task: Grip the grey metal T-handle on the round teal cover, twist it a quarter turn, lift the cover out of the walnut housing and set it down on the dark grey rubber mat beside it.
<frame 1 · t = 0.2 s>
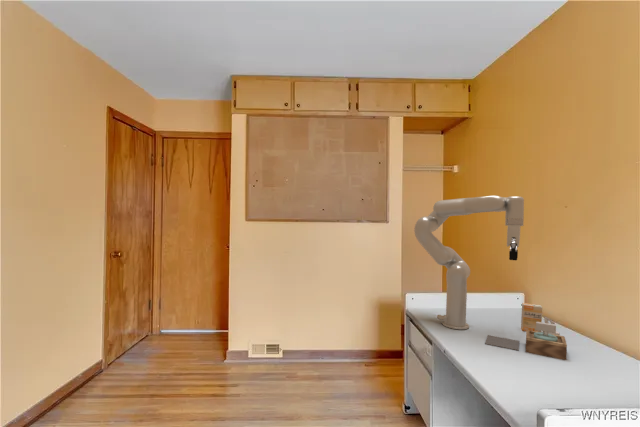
hand: (513, 259, 167), 36 cm above the table, tool pointing down, fingers open, 9 cm apart
supplement box: (531, 331, 177), on the table
cover: (545, 339, 150), point 5 cm above the table, touching housing
housing: (544, 351, 150), on the table
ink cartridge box: (551, 341, 164), on the table
mat: (502, 342, 158), on the table
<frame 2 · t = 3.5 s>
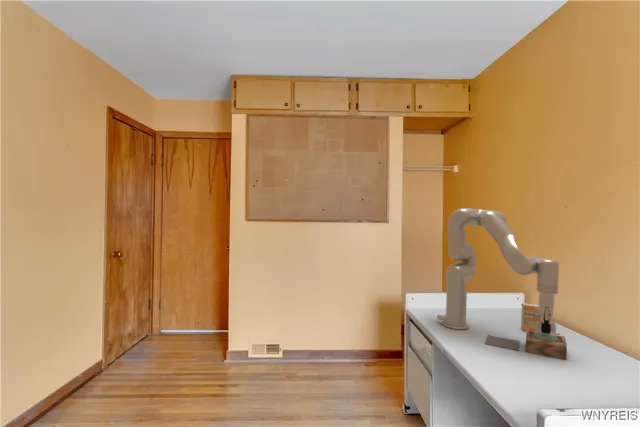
hand: (545, 331, 150), 8 cm above the table, tool pointing down, fingers closed on cover
cover: (545, 339, 150), point 5 cm above the table, touching gripper, housing
everything else where it was.
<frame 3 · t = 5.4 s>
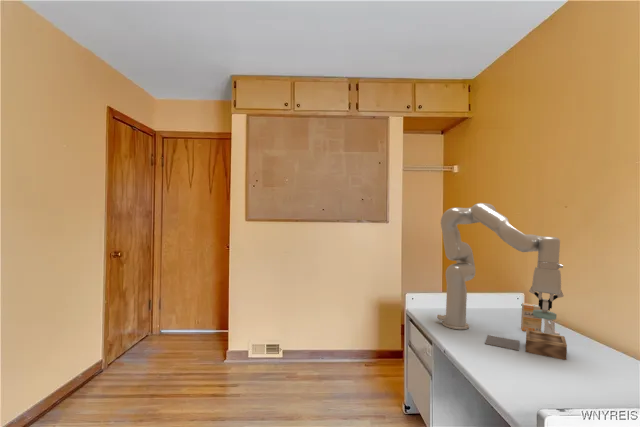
hand: (544, 308, 150), 18 cm above the table, tool pointing down, fingers closed on cover
cover: (544, 316, 150), point 14 cm above the table, touching gripper
everything else where it was.
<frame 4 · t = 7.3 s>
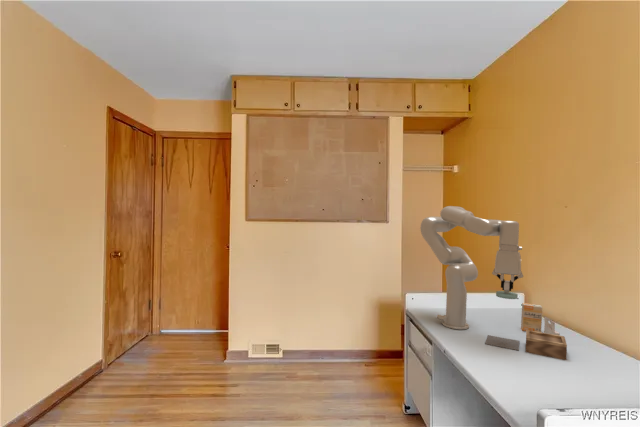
hand: (506, 289, 157), 24 cm above the table, tool pointing down, fingers closed on cover
cover: (506, 296, 157), point 21 cm above the table, touching gripper
everything else where it was.
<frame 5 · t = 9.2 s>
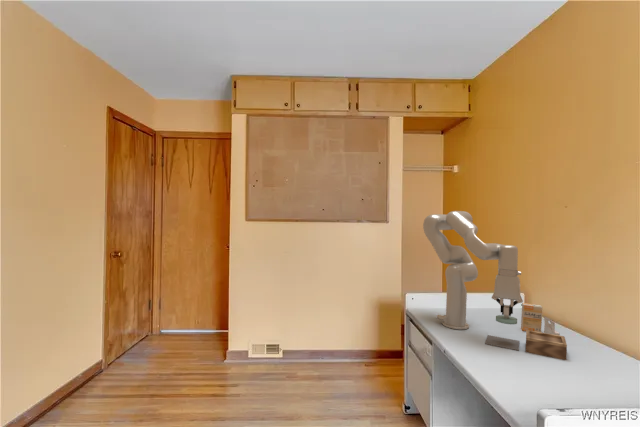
hand: (506, 314, 157), 13 cm above the table, tool pointing down, fingers closed on cover
cover: (506, 321, 157), point 10 cm above the table, touching gripper
everything else where it was.
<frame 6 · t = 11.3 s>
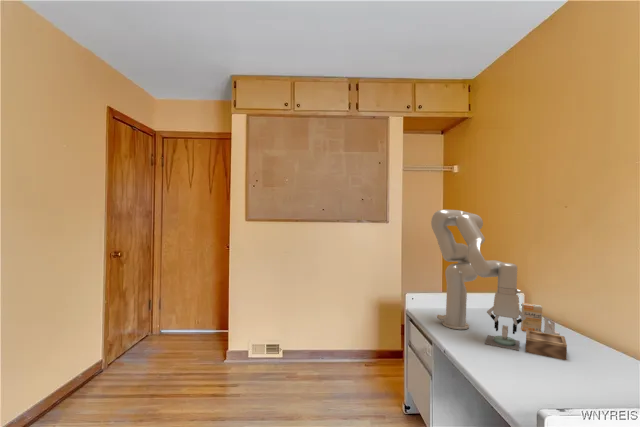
hand: (505, 331, 158), 5 cm above the table, tool pointing down, fingers open, 6 cm apart
cover: (504, 342, 158), resting on mat
everything else where it was.
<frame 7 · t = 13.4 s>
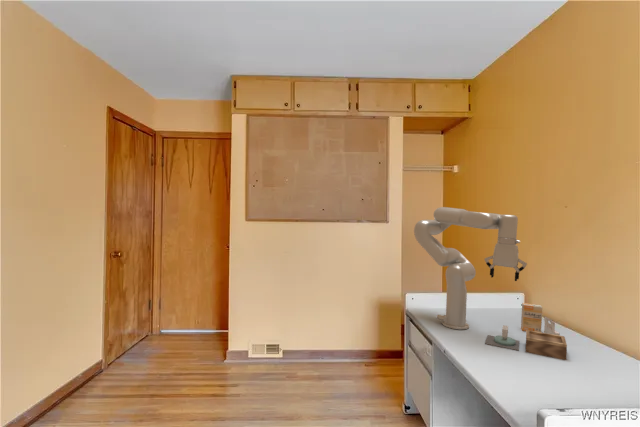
hand: (503, 278, 163), 28 cm above the table, tool pointing down, fingers open, 9 cm apart
nothing on the table moved.
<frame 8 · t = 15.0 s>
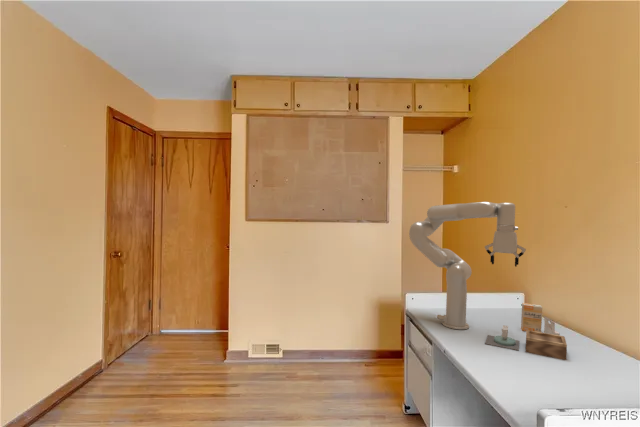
hand: (504, 265, 168), 33 cm above the table, tool pointing down, fingers open, 9 cm apart
nothing on the table moved.
at the end: cover inside the target area (0.9 cm from its centre), resting on mat; cover touching mat; cover tilted 0° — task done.
